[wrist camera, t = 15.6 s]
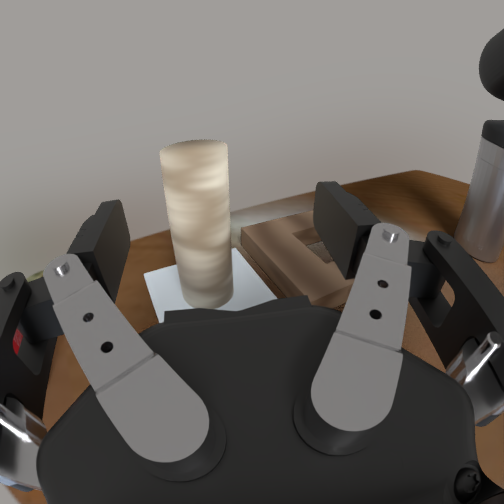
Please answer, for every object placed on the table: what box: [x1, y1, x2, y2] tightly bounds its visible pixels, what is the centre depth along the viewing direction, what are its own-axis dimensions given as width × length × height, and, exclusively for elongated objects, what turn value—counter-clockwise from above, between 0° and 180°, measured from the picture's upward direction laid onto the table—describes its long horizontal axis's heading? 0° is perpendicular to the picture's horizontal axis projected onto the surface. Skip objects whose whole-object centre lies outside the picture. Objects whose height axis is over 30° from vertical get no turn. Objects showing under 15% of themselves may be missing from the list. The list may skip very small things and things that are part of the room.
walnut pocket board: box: [241, 210, 355, 309], centre depth 34 cm, size 16×14×2 cm
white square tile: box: [144, 248, 277, 323], centre depth 29 cm, size 11×11×1 cm
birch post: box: [160, 140, 234, 309], centre depth 24 cm, size 5×5×14 cm
